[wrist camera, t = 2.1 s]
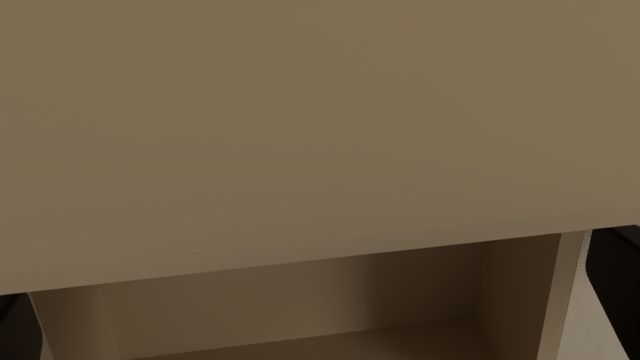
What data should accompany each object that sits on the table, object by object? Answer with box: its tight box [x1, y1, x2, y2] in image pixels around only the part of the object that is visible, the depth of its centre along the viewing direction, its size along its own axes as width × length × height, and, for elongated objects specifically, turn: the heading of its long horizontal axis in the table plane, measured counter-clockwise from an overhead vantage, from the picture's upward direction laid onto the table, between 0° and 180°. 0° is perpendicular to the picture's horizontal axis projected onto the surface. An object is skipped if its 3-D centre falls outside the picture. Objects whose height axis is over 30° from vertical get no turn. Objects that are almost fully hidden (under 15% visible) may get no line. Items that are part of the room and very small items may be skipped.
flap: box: [0, 0, 640, 295], centre depth 9 cm, size 12×6×1 cm
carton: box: [27, 230, 585, 360], centre depth 17 cm, size 14×14×5 cm
